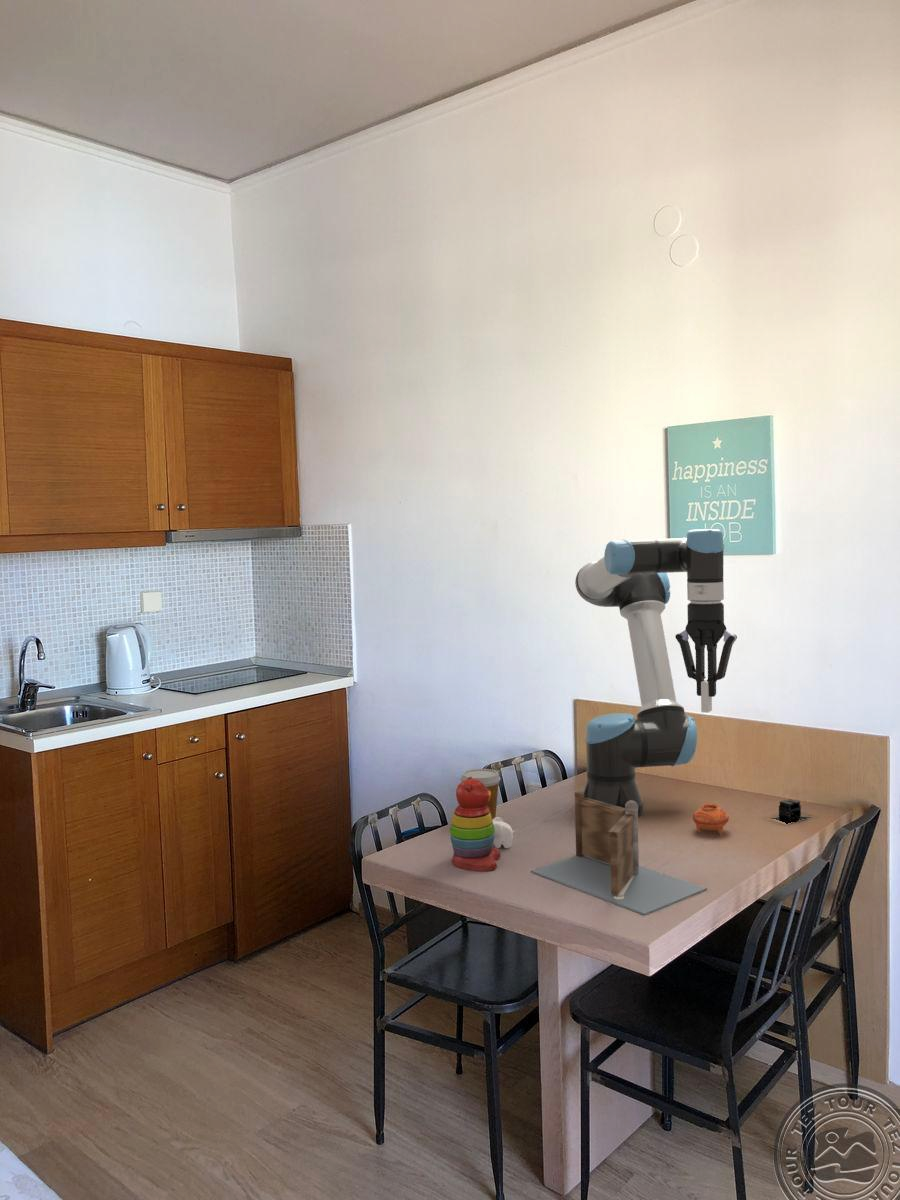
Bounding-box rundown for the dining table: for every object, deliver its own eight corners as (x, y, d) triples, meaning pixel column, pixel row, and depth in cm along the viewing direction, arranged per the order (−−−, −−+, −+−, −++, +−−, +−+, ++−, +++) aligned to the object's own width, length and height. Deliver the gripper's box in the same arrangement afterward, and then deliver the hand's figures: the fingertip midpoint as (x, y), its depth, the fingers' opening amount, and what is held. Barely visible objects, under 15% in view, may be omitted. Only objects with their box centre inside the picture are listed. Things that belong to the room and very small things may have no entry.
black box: (783, 829, 224) (783, 809, 224) (758, 821, 231) (758, 802, 230) (820, 819, 231) (820, 800, 230) (794, 812, 237) (794, 793, 237)
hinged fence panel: (626, 872, 196) (625, 813, 196) (635, 873, 196) (634, 814, 195) (609, 893, 186) (608, 831, 185) (619, 894, 185) (617, 832, 184)
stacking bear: (495, 872, 201) (493, 786, 200) (446, 870, 203) (444, 785, 202) (501, 854, 212) (499, 773, 211) (455, 852, 214) (453, 772, 212)
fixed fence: (572, 856, 209) (571, 787, 208) (581, 853, 210) (580, 784, 209) (633, 877, 196) (632, 803, 195) (642, 874, 197) (640, 800, 196)
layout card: (530, 871, 201) (530, 870, 201) (591, 851, 212) (591, 849, 212) (644, 915, 177) (644, 913, 177) (706, 889, 188) (706, 887, 188)
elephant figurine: (482, 841, 221) (481, 815, 220) (517, 841, 220) (517, 815, 220) (481, 852, 214) (480, 825, 213) (518, 851, 213) (517, 824, 213)
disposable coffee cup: (470, 815, 240) (468, 767, 239) (507, 818, 237) (505, 769, 236) (455, 827, 232) (454, 777, 231) (493, 830, 228) (492, 779, 227)
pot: (738, 830, 222) (734, 803, 220) (714, 845, 218) (710, 818, 216) (711, 821, 228) (707, 794, 227) (688, 835, 224) (683, 808, 223)
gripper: (669, 602, 210) (671, 712, 212) (731, 604, 203) (732, 716, 205) (681, 599, 216) (682, 705, 218) (741, 600, 209) (741, 710, 211)
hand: (706, 711), depth 211 cm, fingers closed
